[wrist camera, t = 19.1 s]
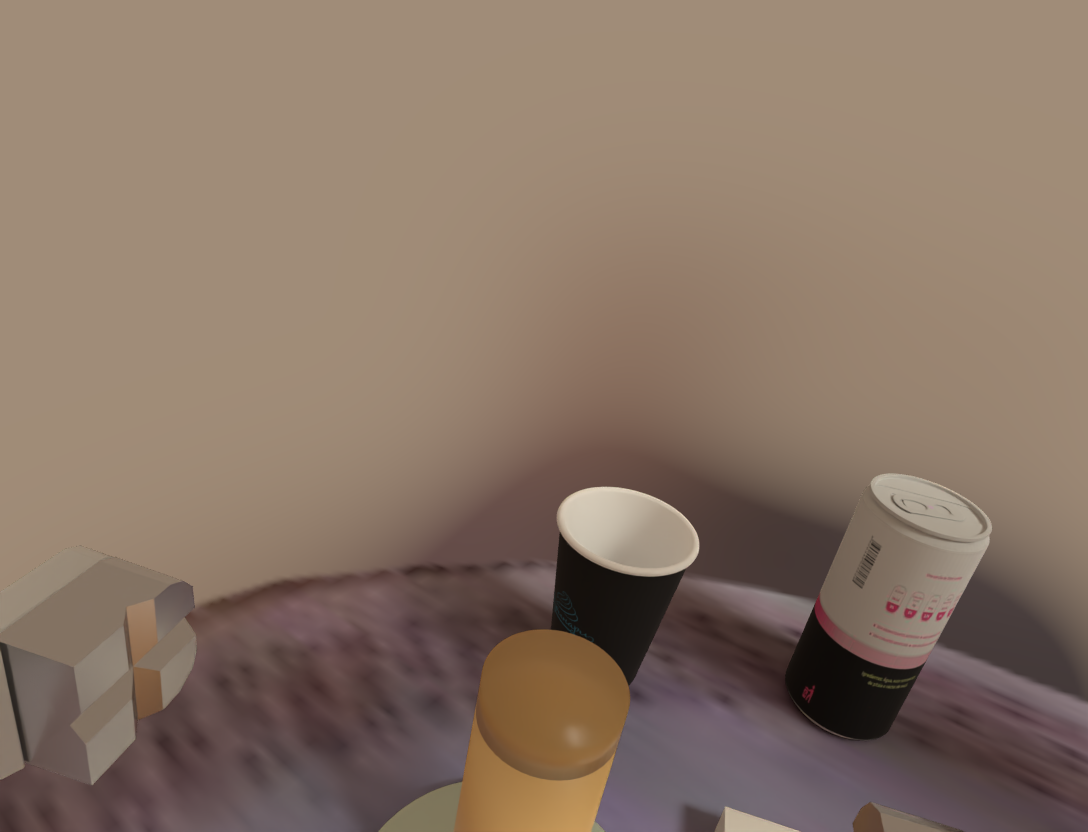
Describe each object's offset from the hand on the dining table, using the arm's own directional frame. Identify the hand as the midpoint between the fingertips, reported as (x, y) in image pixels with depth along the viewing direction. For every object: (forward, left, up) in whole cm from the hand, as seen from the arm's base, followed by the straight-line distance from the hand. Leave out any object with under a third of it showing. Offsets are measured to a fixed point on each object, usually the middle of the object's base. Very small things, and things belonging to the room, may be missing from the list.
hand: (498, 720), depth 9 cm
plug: (+10, -7, -25) cm, 28 cm away
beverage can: (+18, -31, -26) cm, 44 cm away
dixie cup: (+23, -16, -26) cm, 38 cm away
